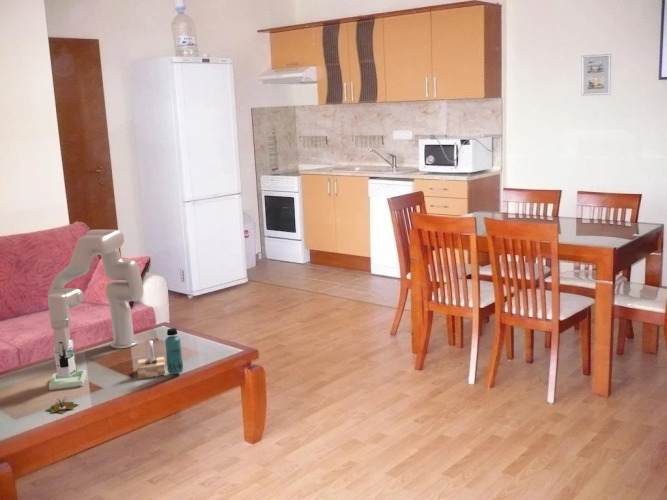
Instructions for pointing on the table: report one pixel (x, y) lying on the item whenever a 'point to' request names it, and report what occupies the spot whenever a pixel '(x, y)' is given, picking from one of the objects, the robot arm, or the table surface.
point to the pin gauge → (149, 352)
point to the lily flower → (58, 405)
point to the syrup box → (71, 361)
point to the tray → (67, 381)
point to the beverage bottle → (173, 352)
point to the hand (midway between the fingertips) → (65, 363)
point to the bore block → (151, 368)
